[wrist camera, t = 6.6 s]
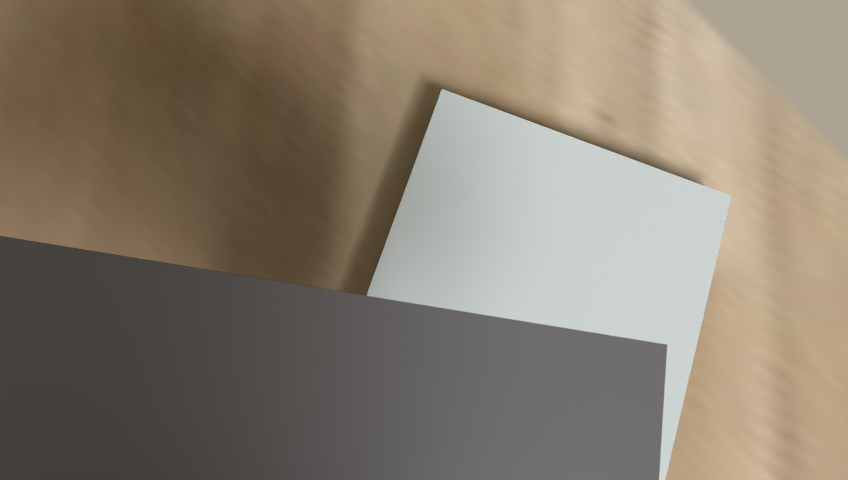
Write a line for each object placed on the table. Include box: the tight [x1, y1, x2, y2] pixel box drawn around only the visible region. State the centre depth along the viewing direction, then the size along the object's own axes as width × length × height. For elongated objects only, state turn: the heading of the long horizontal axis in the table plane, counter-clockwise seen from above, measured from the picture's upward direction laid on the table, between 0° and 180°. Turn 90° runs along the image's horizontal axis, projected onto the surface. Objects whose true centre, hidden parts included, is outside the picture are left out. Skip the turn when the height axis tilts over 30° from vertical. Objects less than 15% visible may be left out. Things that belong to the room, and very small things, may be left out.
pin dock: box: [366, 89, 731, 480], centre depth 20 cm, size 22×12×4 cm, turn 161°
